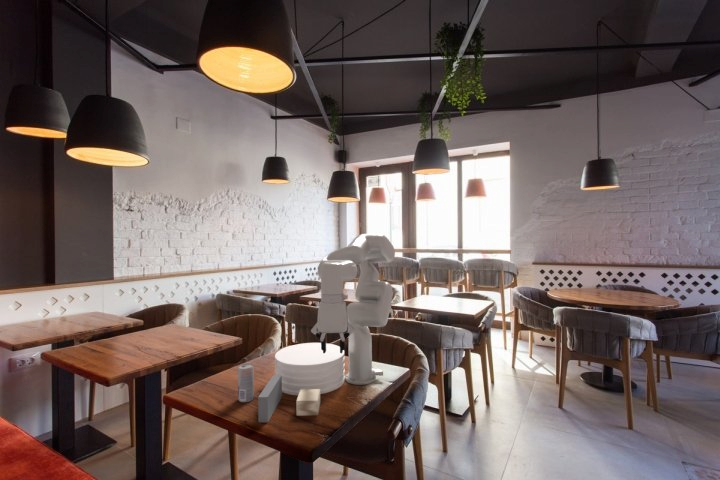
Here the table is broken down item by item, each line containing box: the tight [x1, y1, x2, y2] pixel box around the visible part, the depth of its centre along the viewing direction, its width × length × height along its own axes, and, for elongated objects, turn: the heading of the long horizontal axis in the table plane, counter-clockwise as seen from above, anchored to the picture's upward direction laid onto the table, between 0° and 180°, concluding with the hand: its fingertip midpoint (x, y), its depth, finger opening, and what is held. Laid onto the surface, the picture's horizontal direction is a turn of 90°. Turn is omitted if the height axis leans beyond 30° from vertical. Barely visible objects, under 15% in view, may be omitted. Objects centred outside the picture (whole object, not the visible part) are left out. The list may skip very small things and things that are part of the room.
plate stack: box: [274, 342, 346, 396], centre depth 144 cm, size 28×28×12 cm
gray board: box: [257, 374, 283, 423], centre depth 121 cm, size 3×18×8 cm, turn 179°
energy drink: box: [237, 363, 255, 403], centre depth 128 cm, size 5×5×12 cm
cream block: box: [295, 389, 321, 416], centre depth 120 cm, size 7×9×5 cm
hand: (333, 351), depth 120 cm, fingers open, 5 cm apart
